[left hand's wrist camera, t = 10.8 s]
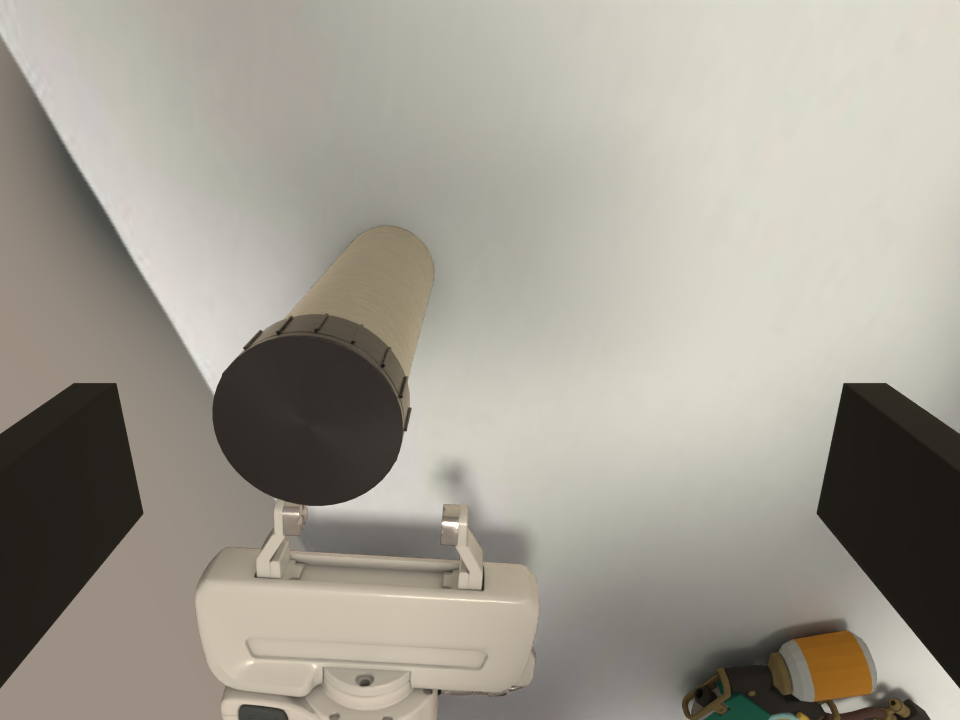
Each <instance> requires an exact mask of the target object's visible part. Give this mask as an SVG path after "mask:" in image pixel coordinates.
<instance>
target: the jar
mask: <svg viewBox="0 0 960 720" xmlns="http://www.w3.org/2000/svg"><path fill="white" fill-rule="evenodd" d="M433 280H434V266H433V261H432V258H431V255H430V253H429V251H428V249H427V248H426V246H425V245H424V244H423V242H422V241H421V240H420V239H419V238H418V237H416V236H415V235H414V234H412V233H410V232H409V231H407V230H404V229H402V228H398V227H393V226H379V227H375V228H371V229H369V230H366V231H365V232H363V233H361V234H360V235H359V236H358V237H356V238H355V239H354V241H353V242H352V243H351V244H350V245H349V246H348V247H347V248H346V250H345V251H344V252H343V253H342V254H341V255H340V256H339V257H338V259H337V260H336V261H335V262H334V263H333V264H332V265H331V267H330V268H329V269H328V270H327V271H326V272H325V273H324V274H323V276H322V277H321V278H320V279H319V280H318V281H317V282H316V284H315V285H314V286H313V287H312V288H311V289H310V290H309V292H308V293H307V294H306V295H305V296H304V297H303V298H302V299H301V301H300V302H299V303H298V304H297V305H296V306H295V307H294V309H293V310H292V311H291V312H290V313H289V314H288V315H287V316H286V318H285V319H287V318H288V317H289V316H290V315H292V316H293V317H294V316H299V315H307V314H325V313H328V314H329V315H331V316H336V317H340V318H344V319H347V320H350V321H352V322H355V323H357V324H359V325H361V324H362V325H364V326H363V327H365V328H366V329H368V330H369V331H371V332H372V333H374V334H375V335H377V336H378V337H379V338H380V339H381V340H382V341H383V342H384V343H385V344H386V345H387V346H388V347H389V346H390V347H391V348H392V349H391V350H392V352H393V353H394V354H395V356H396V358H397V359H398V361H399V362H400V364H401V366H402V368H403V370H404V373H405V376H408V378H409V374H410V370H411V366H412V362H413V358H414V354H415V350H416V347H417V343H418V339H419V335H420V331H421V327H422V323H423V319H424V315H425V311H426V307H427V304H428V300H429V296H430V292H431V288H432V284H433Z"/></svg>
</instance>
